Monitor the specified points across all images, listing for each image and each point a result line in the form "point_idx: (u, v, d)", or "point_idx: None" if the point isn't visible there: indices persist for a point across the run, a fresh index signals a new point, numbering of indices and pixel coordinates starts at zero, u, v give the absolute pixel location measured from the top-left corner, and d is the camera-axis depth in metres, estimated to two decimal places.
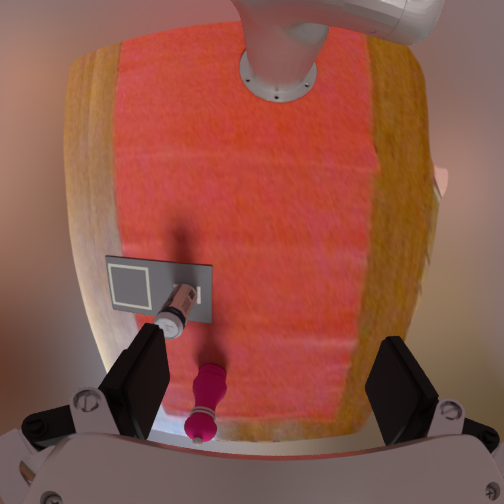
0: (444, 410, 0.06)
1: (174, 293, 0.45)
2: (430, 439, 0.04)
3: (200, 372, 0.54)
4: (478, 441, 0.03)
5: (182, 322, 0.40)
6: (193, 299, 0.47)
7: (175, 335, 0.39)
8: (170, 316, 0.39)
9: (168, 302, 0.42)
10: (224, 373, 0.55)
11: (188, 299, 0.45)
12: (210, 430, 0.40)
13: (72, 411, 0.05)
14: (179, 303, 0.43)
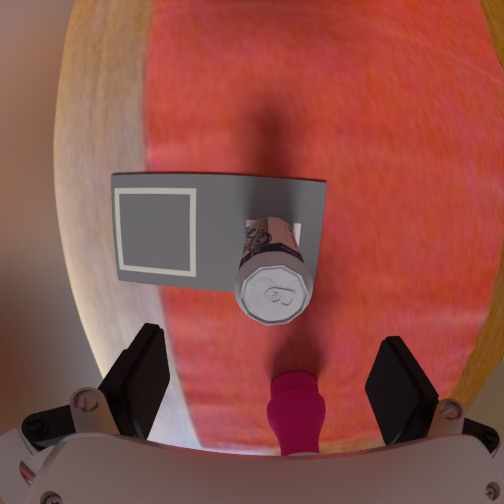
0: (444, 410, 0.06)
1: (263, 227, 0.22)
2: (430, 439, 0.04)
3: (278, 387, 0.31)
4: (478, 441, 0.03)
5: None
6: None
7: (294, 313, 0.16)
8: (286, 262, 0.15)
9: (262, 238, 0.19)
10: (316, 384, 0.32)
11: None
12: None
13: (72, 411, 0.05)
14: (288, 240, 0.19)
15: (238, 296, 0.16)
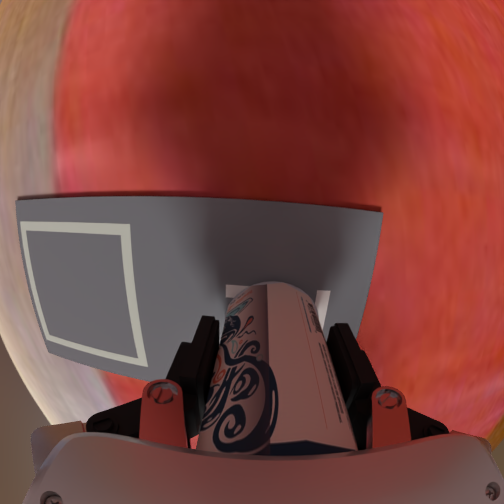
0: (381, 400, 0.07)
1: (256, 329, 0.09)
2: (430, 439, 0.04)
3: None
4: (478, 441, 0.03)
5: None
6: (326, 344, 0.11)
7: None
8: None
9: (251, 399, 0.06)
10: None
11: (327, 353, 0.09)
12: None
13: (149, 405, 0.06)
14: (321, 396, 0.06)
15: None
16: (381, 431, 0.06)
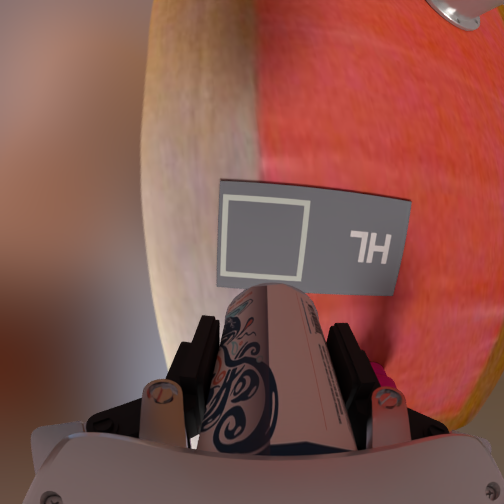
0: (381, 400, 0.07)
1: (256, 331, 0.09)
2: (430, 439, 0.04)
3: None
4: (478, 441, 0.03)
5: None
6: (326, 345, 0.11)
7: None
8: None
9: (251, 401, 0.06)
10: None
11: (327, 354, 0.09)
12: None
13: (149, 404, 0.06)
14: (321, 398, 0.06)
15: None
16: (381, 431, 0.06)
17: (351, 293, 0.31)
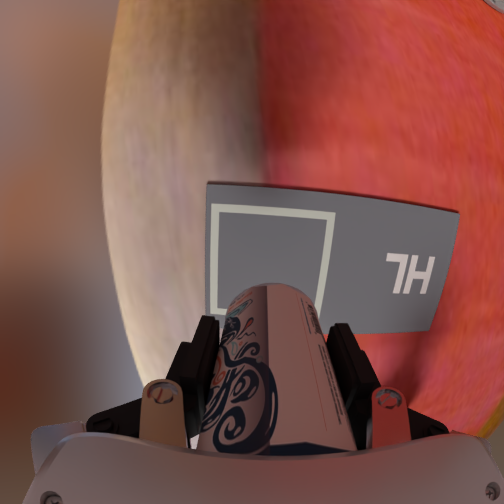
0: (381, 400, 0.07)
1: (256, 331, 0.09)
2: (430, 439, 0.04)
3: None
4: (478, 441, 0.03)
5: None
6: (326, 345, 0.11)
7: None
8: None
9: (251, 401, 0.06)
10: None
11: (327, 354, 0.09)
12: None
13: (149, 404, 0.06)
14: (321, 398, 0.06)
15: None
16: (381, 431, 0.06)
17: (381, 331, 0.23)
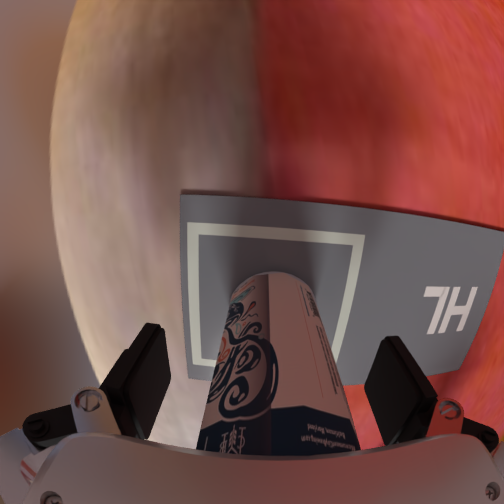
0: (443, 410, 0.06)
1: (258, 312, 0.10)
2: (430, 439, 0.04)
3: None
4: (478, 441, 0.03)
5: None
6: (324, 329, 0.12)
7: None
8: None
9: (253, 371, 0.07)
10: None
11: (325, 335, 0.10)
12: None
13: (74, 411, 0.05)
14: (318, 370, 0.07)
15: None
16: None
17: None
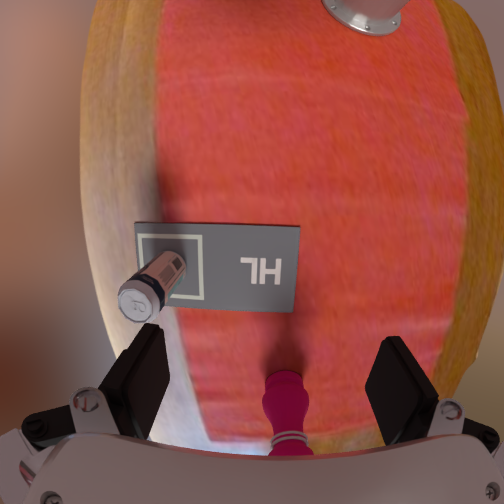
0: (444, 410, 0.06)
1: (152, 260, 0.31)
2: (430, 439, 0.04)
3: (270, 383, 0.40)
4: (478, 441, 0.03)
5: (158, 296, 0.26)
6: (179, 270, 0.33)
7: (148, 317, 0.25)
8: (139, 286, 0.25)
9: (140, 270, 0.28)
10: (302, 381, 0.40)
11: (171, 268, 0.31)
12: None
13: (72, 411, 0.05)
14: (156, 271, 0.28)
15: None
16: None
17: (250, 310, 0.38)
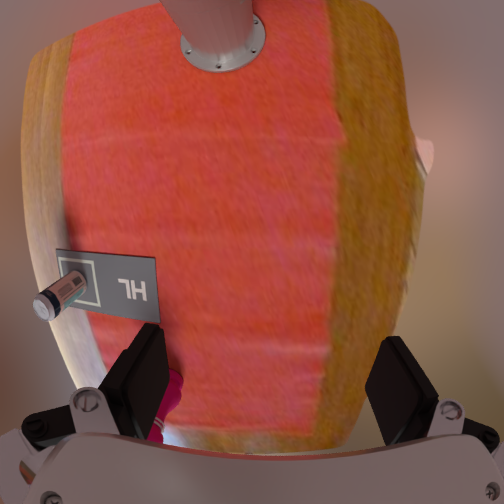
0: (444, 410, 0.06)
1: (60, 279, 0.39)
2: (430, 439, 0.04)
3: None
4: (478, 441, 0.03)
5: (53, 305, 0.33)
6: (78, 285, 0.41)
7: (48, 317, 0.33)
8: (42, 298, 0.32)
9: (49, 286, 0.36)
10: (179, 379, 0.48)
11: (70, 284, 0.39)
12: (153, 440, 0.33)
13: (72, 411, 0.05)
14: (57, 287, 0.36)
15: None
16: None
17: (130, 317, 0.45)
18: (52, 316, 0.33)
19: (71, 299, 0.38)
